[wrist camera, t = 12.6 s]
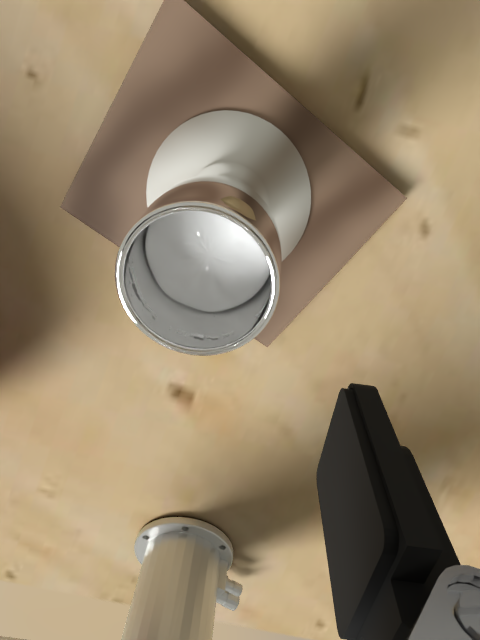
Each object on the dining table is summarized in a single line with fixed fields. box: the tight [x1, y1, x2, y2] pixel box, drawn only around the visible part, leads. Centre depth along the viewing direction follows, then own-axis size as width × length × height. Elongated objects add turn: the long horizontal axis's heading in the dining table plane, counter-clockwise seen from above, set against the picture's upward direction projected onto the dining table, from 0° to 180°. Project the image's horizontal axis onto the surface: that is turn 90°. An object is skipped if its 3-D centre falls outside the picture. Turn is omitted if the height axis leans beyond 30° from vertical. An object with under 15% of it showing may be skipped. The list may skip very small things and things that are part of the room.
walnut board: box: [60, 0, 407, 347], centre depth 29 cm, size 20×16×2 cm
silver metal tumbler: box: [115, 162, 282, 356], centre depth 22 cm, size 7×7×15 cm
